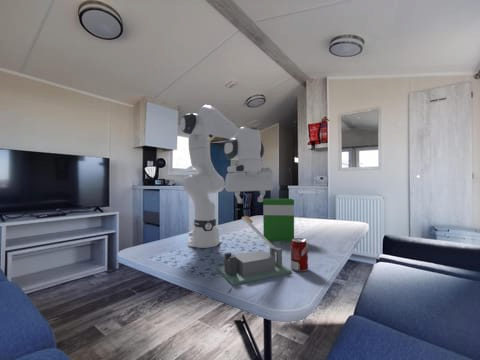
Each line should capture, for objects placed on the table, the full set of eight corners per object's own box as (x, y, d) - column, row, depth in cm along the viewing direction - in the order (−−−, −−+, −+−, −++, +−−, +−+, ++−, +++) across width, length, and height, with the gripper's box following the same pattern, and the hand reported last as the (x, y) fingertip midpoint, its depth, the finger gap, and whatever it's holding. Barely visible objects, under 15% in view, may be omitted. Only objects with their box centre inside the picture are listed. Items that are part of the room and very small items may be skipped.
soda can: (297, 273, 93) (297, 242, 92) (287, 267, 99) (287, 238, 99) (311, 270, 95) (311, 240, 95) (300, 265, 102) (300, 236, 101)
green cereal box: (263, 240, 141) (263, 199, 140) (263, 237, 148) (263, 198, 148) (294, 241, 139) (294, 199, 138) (292, 238, 146) (292, 198, 146)
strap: (240, 218, 95) (243, 214, 95) (273, 251, 101) (276, 247, 102) (244, 219, 92) (247, 215, 92) (278, 253, 98) (280, 249, 99)
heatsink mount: (217, 269, 98) (217, 249, 97) (269, 259, 108) (269, 242, 108) (232, 285, 83) (232, 262, 83) (291, 272, 94) (291, 252, 94)
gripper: (268, 168, 102) (268, 200, 102) (223, 167, 93) (223, 203, 93) (276, 167, 96) (276, 201, 96) (229, 167, 87) (229, 204, 88)
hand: (250, 202), depth 95 cm, fingers open, 8 cm apart
